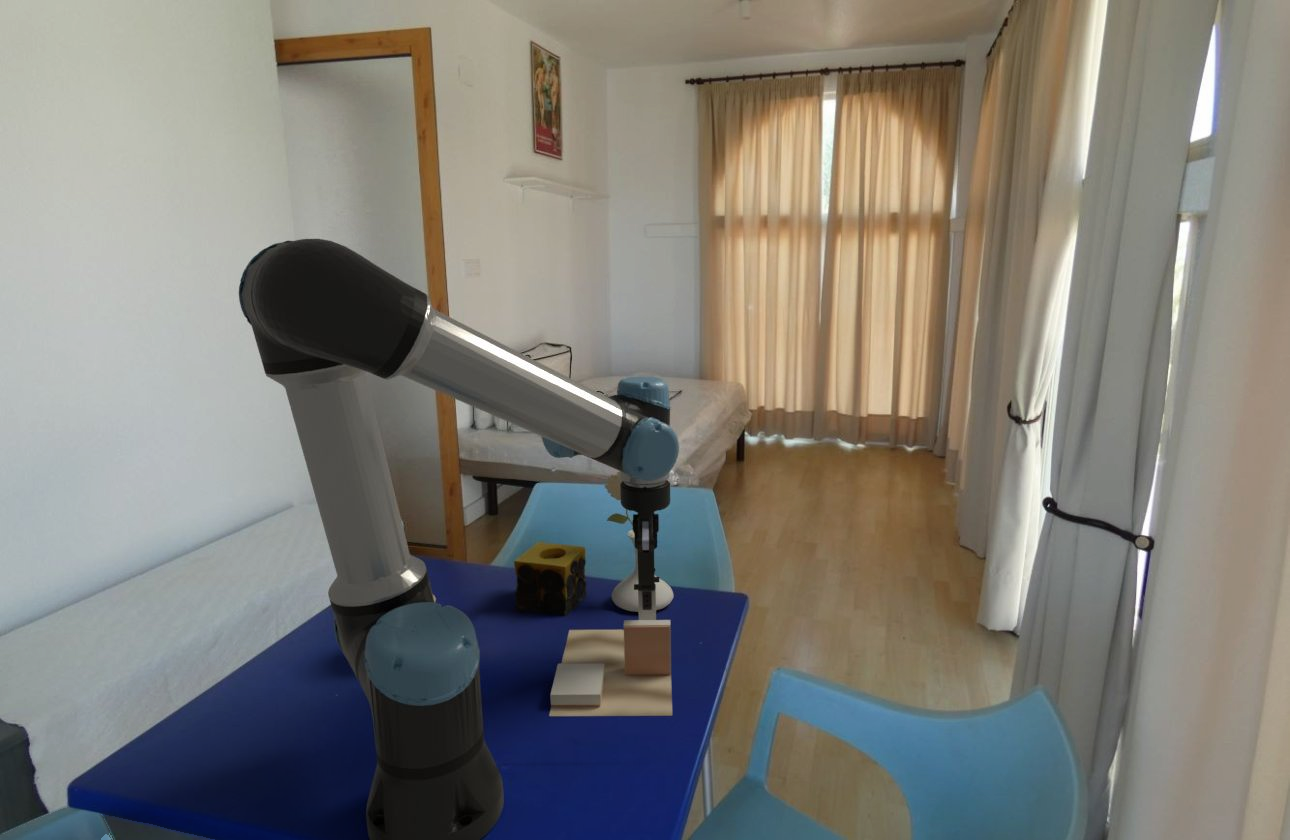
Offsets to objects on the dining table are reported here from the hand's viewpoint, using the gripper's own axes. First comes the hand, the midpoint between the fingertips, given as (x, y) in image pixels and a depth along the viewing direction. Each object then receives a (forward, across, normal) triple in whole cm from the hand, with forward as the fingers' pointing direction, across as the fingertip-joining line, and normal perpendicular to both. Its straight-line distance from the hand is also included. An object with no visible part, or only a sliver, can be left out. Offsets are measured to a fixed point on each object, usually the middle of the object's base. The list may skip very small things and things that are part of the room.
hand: (647, 624), depth 115 cm
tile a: (+4, -6, +10) cm, 12 cm away
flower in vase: (+6, +19, +2) cm, 20 cm away
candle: (+6, +19, +18) cm, 27 cm away
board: (+6, -4, +5) cm, 9 cm away
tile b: (+5, -5, 0) cm, 7 cm away
